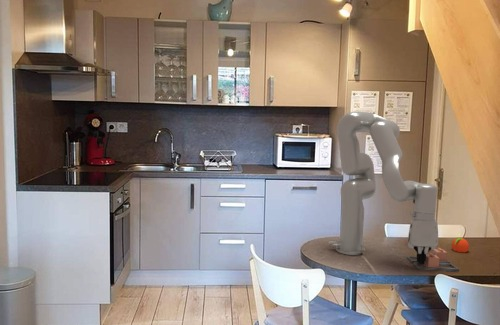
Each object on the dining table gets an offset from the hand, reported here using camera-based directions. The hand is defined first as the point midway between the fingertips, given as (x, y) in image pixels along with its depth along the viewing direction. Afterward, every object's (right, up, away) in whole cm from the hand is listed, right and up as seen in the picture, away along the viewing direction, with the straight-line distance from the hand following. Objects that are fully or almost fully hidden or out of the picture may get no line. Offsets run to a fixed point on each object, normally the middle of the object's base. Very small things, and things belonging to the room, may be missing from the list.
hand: (420, 263), depth 173 cm
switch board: (+6, -3, +4) cm, 8 cm away
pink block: (+4, -2, 0) cm, 5 cm away
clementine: (+26, -2, +24) cm, 35 cm away
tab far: (+10, -1, +8) cm, 13 cm away
